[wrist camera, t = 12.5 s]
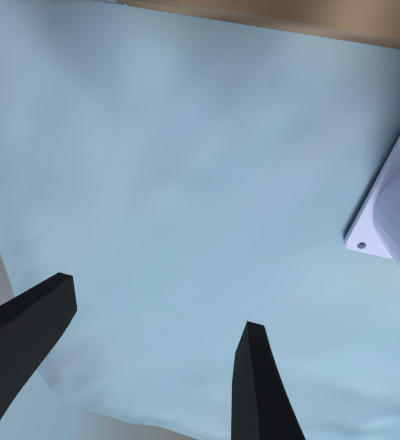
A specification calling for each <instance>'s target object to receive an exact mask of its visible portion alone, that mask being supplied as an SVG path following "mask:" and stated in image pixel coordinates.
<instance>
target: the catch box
mask: <svg viewBox="0 0 400 440" xmlns="http://www.w3.org/2000/svg"><path fill="white" fill-rule="evenodd" d="M96 1H102V2H108V3H115V4H121V5H124V3H123V2H121V1H120V0H96Z"/></svg>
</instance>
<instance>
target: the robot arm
mask: <svg viewBox="0 0 400 440" xmlns="http://www.w3.org/2000/svg"><path fill="white" fill-rule="evenodd" d="M360 242H364V243H363V244H362V245H357V244H358V243H360ZM344 244H345V246H346V247H347V248H348V249H350V250H355V251H359V252H364V253H368V254H372V255H377V256H381V257H386V258H390V259H394V260H395V261H396V263H397V264H398V265H399V267H400V136H399V138H398V140H397V142H396V144H395V146H394V147H393V149H392V151H391V153H390V155H389V157H388V159H387V160H386V162H385V164H384V166H383V168H382V170H381V172H380V174H379V175H378V177H377V179H376V181H375V183H374V185H373V187H372V189H371V190H370V192H369V194H368V196H367V198H366V200H365V202H364V203H363V205H362V207H361V209H360V211H359V213H358V215H357V217H356V218H355V220H354V222H353V224H352V226H351V228H350V230H349V232H348V233H347V235H346V237H345V239H344ZM76 311H77V304H76V297H75V289H74V282H73V276H71V275H67V274H63V273H57V274H55V275H53V276H52V277H50V278H48V279H46V280H45V281H43V282H41V283H39V284H38V285H36V286H34V287H32V288H31V289H29V290H27V291H25V292H24V293H22V294H20V295H18V296H17V297H15V298H13V299H11V300H10V301H8V302H6V303H4V304H2V305H1V306H0V420H1V418H2V416H3V415H4V413H5V412H6V410H7V409H8V407H9V406H10V404H11V403H12V401H13V400H14V398H15V397H16V395H17V394H18V393H19V391H20V390H21V389H22V387H23V386H24V385H25V383H26V382H27V381H28V379H29V378H30V377H31V375H32V374H33V373H34V372H35V370H36V369H37V368H38V366H39V365H40V364H41V362H42V361H43V360H44V359H45V357H46V356H47V355H48V353H49V352H50V351H51V349H52V348H53V347H54V345H55V344H56V343H57V341H58V340H59V339H60V337H61V336H62V335H63V333H64V332H65V330H66V328H67V327H68V325H69V324H70V322H71V320H72V318H73V317H74V315H75V313H76ZM231 440H306V439H305V437H304V435H303V432H302V430H301V428H300V426H299V423H298V421H297V418H296V416H295V414H294V411H293V409H292V407H291V404H290V402H289V399H288V397H287V394H286V391H285V389H284V386H283V383H282V380H281V378H280V375H279V372H278V369H277V367H276V364H275V360H274V357H273V354H272V351H271V348H270V345H269V341H268V337H267V334H266V330H265V327H264V326H263V325H260V324H256V323H252V322H249V321H247V323H246V326H245V329H244V331H243V334H242V337H241V339H240V342H239V345H238V347H237V350H236V353H235V361H234V369H233V379H232V418H231Z"/></svg>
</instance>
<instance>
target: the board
mask: <svg viewBox="0 0 400 440" xmlns="http://www.w3.org/2000/svg"><path fill="white" fill-rule="evenodd" d="M120 1H121V2H123V3H125V4H126V5H128V6H133V7H140V8H146V9H152V10H158V11H165V12H171V13H177V14H183V15H190V16H196V17H202V18H208V19H215V20H221V21H227V22H233V23H240V24H246V25H252V26H258V27H265V28H271V29H277V30H283V31H290V32H296V33H302V34H308V35H315V36H321V37H327V38H333V39H340V40H346V41H352V42H358V43H365V44H371V45H377V46H383V47H390V48H396V49H400V0H120Z"/></svg>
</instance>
